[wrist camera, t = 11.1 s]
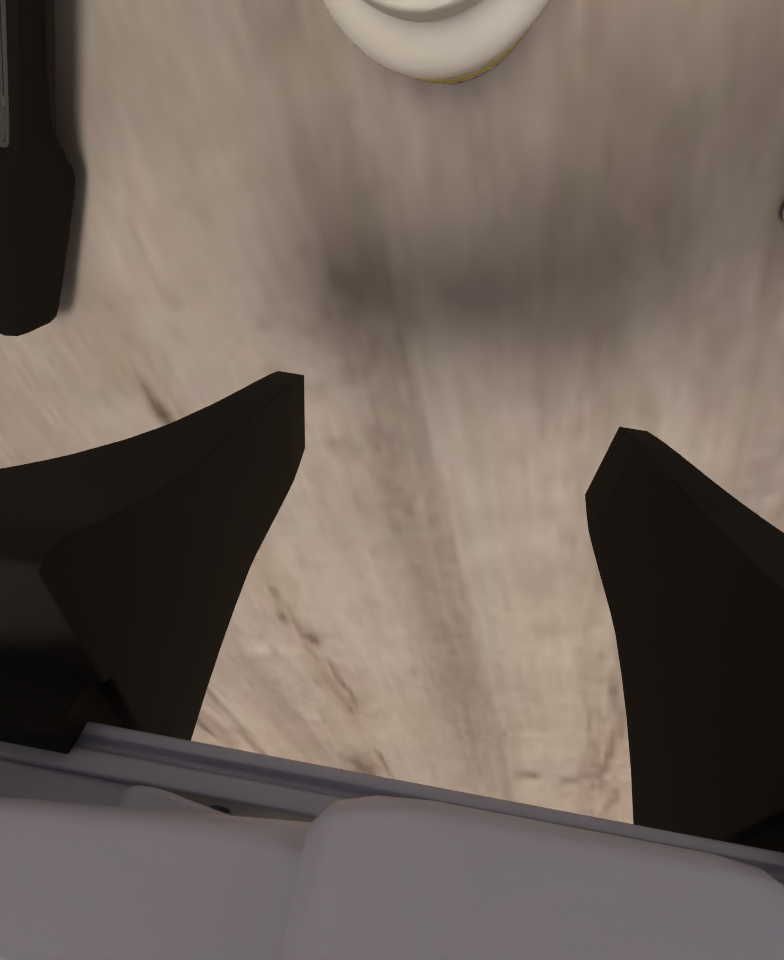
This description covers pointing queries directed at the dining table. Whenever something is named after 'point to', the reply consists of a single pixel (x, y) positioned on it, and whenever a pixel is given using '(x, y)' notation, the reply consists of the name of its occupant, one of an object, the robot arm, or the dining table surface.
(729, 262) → the dining table surface
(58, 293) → the electric trimmer
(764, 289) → the dining table surface
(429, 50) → the supplement bottle
